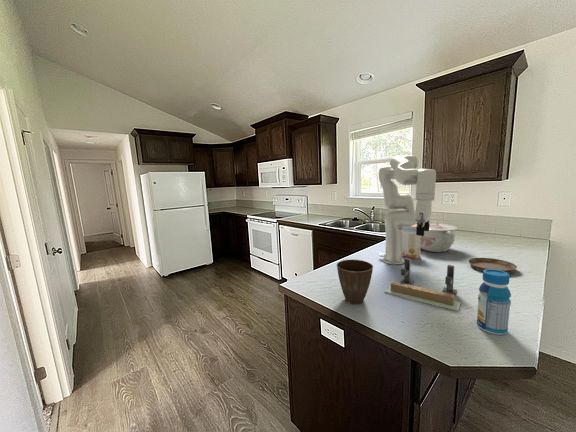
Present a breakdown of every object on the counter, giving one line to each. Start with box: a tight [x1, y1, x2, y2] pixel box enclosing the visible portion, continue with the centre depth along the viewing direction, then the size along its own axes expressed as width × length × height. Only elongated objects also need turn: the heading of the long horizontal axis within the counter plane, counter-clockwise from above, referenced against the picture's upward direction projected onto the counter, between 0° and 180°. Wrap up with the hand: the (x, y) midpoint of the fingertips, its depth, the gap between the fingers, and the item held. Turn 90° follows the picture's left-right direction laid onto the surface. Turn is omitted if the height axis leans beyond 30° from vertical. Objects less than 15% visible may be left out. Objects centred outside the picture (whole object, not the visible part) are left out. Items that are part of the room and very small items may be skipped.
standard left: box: [400, 257, 414, 285], centre depth 121 cm, size 5×9×12 cm, turn 140°
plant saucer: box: [468, 257, 518, 274], centre depth 136 cm, size 21×21×3 cm
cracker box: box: [398, 225, 421, 259], centre depth 162 cm, size 14×6×21 cm, turn 39°
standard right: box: [441, 264, 458, 295], centre depth 109 cm, size 5×9×12 cm, turn 140°
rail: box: [390, 280, 455, 306], centre depth 107 cm, size 24×4×4 cm, turn 50°
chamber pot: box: [414, 220, 459, 253], centre depth 173 cm, size 28×28×21 cm
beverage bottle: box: [476, 269, 512, 336], centre depth 83 cm, size 8×8×20 cm
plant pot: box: [336, 259, 374, 305], centre depth 106 cm, size 15×15×16 cm
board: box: [384, 285, 461, 312], centre depth 107 cm, size 28×7×1 cm, turn 50°
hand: (422, 233), depth 116 cm, fingers open, 9 cm apart
